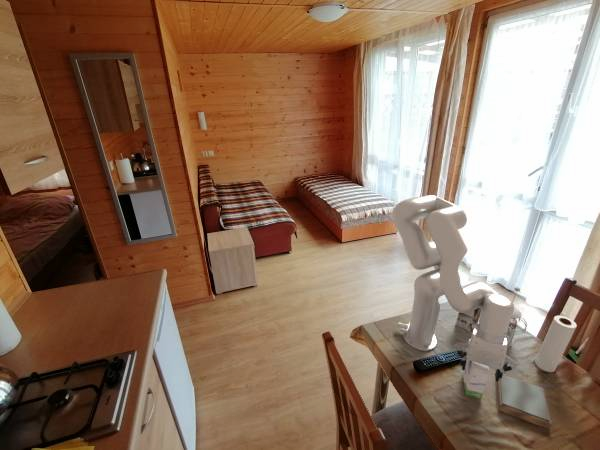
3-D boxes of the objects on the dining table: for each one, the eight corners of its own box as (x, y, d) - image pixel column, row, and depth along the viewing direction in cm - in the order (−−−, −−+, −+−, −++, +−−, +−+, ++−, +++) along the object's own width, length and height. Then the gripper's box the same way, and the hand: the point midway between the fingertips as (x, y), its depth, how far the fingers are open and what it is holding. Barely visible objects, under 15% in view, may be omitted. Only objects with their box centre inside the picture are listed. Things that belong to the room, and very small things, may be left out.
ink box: (481, 399, 98) (490, 374, 93) (465, 394, 100) (473, 369, 95) (477, 378, 105) (486, 353, 100) (462, 373, 107) (469, 349, 102)
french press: (488, 325, 129) (504, 276, 118) (520, 337, 122) (540, 287, 111) (484, 338, 122) (500, 288, 111) (517, 352, 115) (538, 301, 104)
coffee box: (470, 332, 125) (480, 301, 118) (455, 324, 129) (463, 294, 122) (478, 321, 130) (488, 291, 124) (463, 314, 135) (471, 285, 128)
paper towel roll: (549, 375, 106) (571, 330, 97) (531, 362, 111) (550, 318, 102) (560, 367, 109) (582, 322, 100) (541, 355, 114) (561, 311, 105)
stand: (498, 409, 95) (500, 403, 94) (495, 377, 105) (498, 371, 104) (548, 429, 89) (552, 423, 88) (540, 393, 100) (543, 387, 98)
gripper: (459, 331, 93) (450, 371, 99) (526, 350, 85) (511, 392, 92) (459, 316, 99) (451, 355, 105) (523, 333, 91) (509, 373, 98)
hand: (479, 372), depth 99 cm, fingers open, 9 cm apart
